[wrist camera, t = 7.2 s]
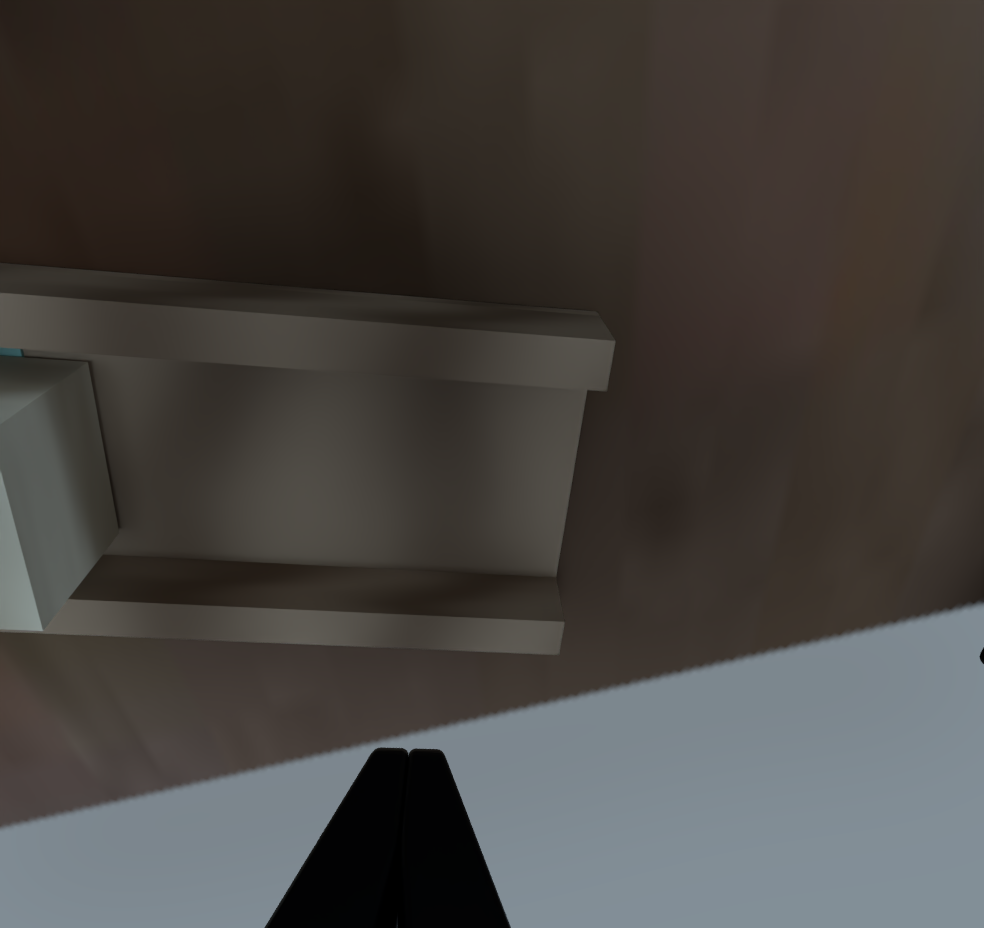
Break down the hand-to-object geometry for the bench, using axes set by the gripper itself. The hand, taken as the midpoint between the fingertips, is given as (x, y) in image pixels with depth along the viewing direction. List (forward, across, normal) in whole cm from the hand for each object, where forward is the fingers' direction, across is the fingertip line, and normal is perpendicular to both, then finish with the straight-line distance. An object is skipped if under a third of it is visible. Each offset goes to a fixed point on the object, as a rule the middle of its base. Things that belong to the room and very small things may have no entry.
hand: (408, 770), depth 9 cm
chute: (+11, +6, +2) cm, 13 cm away
